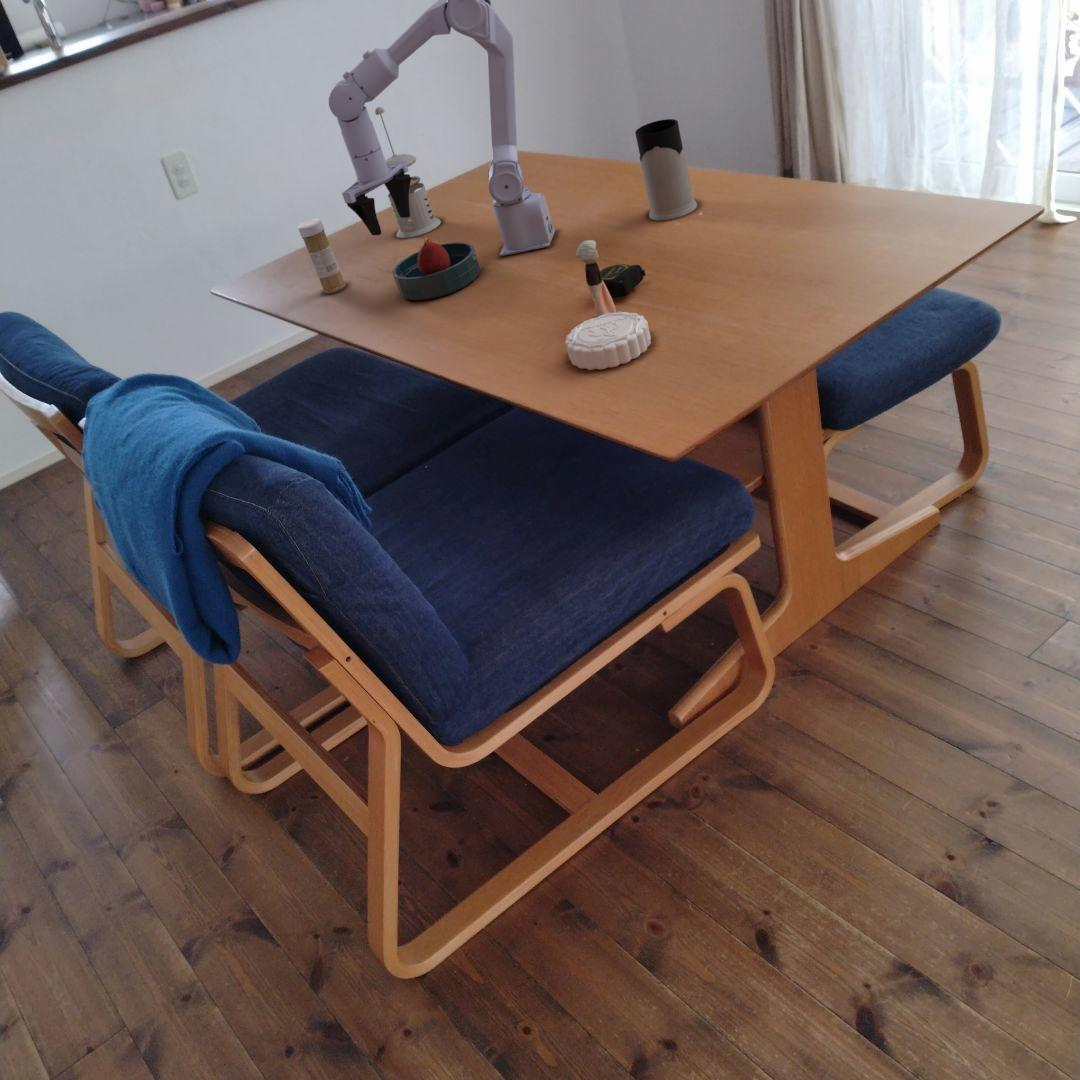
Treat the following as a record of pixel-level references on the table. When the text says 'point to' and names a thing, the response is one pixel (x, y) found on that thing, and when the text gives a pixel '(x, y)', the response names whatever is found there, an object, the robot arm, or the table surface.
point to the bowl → (441, 282)
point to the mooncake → (608, 340)
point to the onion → (432, 258)
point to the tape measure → (621, 279)
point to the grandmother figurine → (595, 278)
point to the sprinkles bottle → (321, 255)
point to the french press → (412, 200)
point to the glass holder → (665, 170)
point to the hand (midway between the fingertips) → (391, 225)
